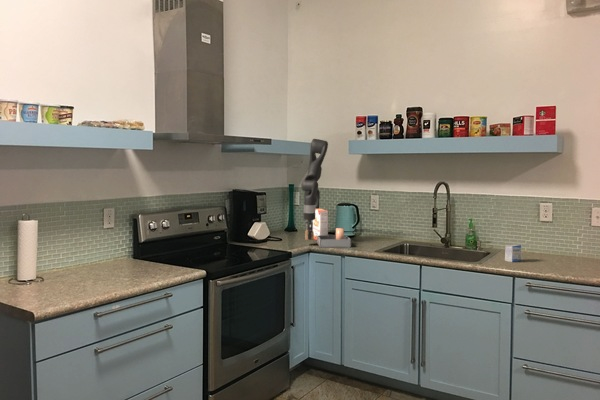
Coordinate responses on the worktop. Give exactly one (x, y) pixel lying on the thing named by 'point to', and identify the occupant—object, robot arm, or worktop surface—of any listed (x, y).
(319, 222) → the cracker box
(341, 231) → the spice jar
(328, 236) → the tote
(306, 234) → the walnut block
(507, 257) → the medicine box
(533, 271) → the worktop surface
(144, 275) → the worktop surface
